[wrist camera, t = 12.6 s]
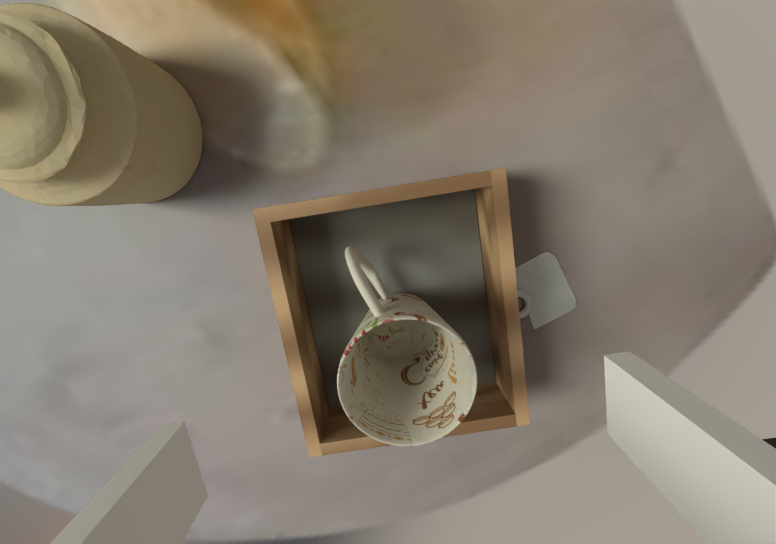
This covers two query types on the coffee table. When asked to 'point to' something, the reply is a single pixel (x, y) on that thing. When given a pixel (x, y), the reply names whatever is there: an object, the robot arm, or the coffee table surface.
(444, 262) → the open wooden crate
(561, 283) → the mounting bracket
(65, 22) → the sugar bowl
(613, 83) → the coffee table surface
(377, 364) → the mug
